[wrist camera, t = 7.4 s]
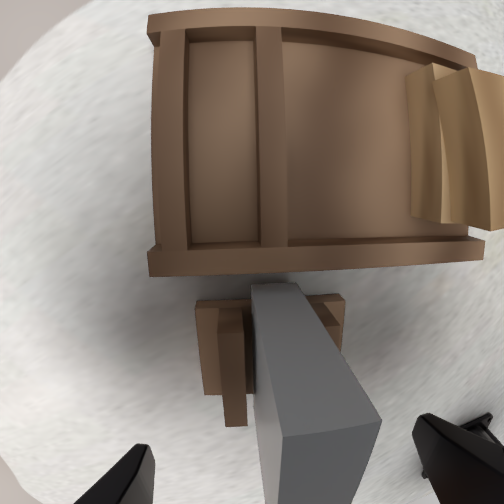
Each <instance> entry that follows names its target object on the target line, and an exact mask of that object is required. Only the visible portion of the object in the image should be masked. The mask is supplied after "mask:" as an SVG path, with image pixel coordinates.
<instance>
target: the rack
mask: <svg viewBox="0 0 504 504" xmlns="http://www.w3.org/2000/svg"><path fill="white" fill-rule="evenodd" d="M147 35H148V37H149V39H150V40H151V42H152V44H153V46H154V61H153V80H152V111H151V158H152V191H153V211H154V227H155V241H156V245H155V246H154V247H152V248H151V249H150V250H149V251H148V252H147V257H148V267H149V277H170V276H204V275H233V274H259V273H282V272H303V271H323V270H342V269H359V268H376V267H392V266H407V265H422V264H436V263H449V262H462V261H474V260H483V256H484V248H485V241H484V240H481V239H478V238H474V237H471V236H468V227H469V226H468V225H464V224H454V223H437V222H433V221H429V220H425V219H421V218H417V217H412V216H411V142H410V124H409V111H408V100H407V91H406V82H405V76H407V75H409V74H411V73H413V72H415V71H417V70H419V69H421V68H423V67H425V66H427V65H429V64H430V63H435V64H438V65H441V66H444V67H447V68H450V69H453V70H456V71H460V70H462V69H465V68H467V67H470V68H474V69H478V68H477V63H476V58H475V55H473V54H471V53H468V52H466V51H464V50H461V49H459V48H456V47H454V46H451V45H448V44H446V43H443V42H440V41H438V40H435V39H432V38H429V37H426V36H423V35H420V34H416V33H413V32H410V31H406V30H403V29H399V28H396V27H392V26H388V25H384V24H380V23H376V22H371V21H367V20H362V19H357V18H352V17H346V16H340V15H334V14H327V13H320V12H312V11H303V10H292V9H277V8H209V9H194V10H183V11H174V12H166V13H159V14H152V15H149V16H148V25H147Z"/></svg>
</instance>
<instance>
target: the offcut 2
mask: <svg viewBox="0 0 504 504" xmlns="http://www.w3.org/2000/svg"><path fill="white" fill-rule="evenodd" d="M432 84H433V88H434V93H435V97H436V102H437V106H438V111H439V116H440V121H441V127H442V133H443V139H444V145H445V152H446V160H447V168H448V177H449V188H450V202H451V221H452V222H455V223H459V224H464V225H468V226H472V227H476V228H480V229H483V230H487V231H494V230H499V229H503V228H504V76H501V75H498V74H494V73H490V72H486V71H482V70H478V69H474V68H470V67H467V68H465V69H462V70H460V71H457V72H455V73H452V74H450V75H447V76H445V77H442V78H440V79H437V80H435V81H433V82H432Z"/></svg>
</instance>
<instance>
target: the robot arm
mask: <svg viewBox="0 0 504 504" xmlns="http://www.w3.org/2000/svg"><path fill="white" fill-rule="evenodd" d="M492 418H493V415H492V414H487V415H485V416H483V417H481V418H479V419H477V420H475V421H473V422H470V423H468V424H466V425H464V426H461V427H458V426H456V425H454V424H452V423H450V422H447V421H445V420H443V419H441V418H439V417H437V416H435V415H433V414H431V413H426V414H422V415H420V416H419V417H418V418H417V421H416V423H415V426H414V428H413V431H412V437H413V440H414V442H415V445H416V448H417V451H418V454H419V457H420V460H421V462H422V465H423V468H424V472H423V473H422V477H423V479H426V478H428V479H429V481H430V483H431V485H432V487H433V489H434V491H435V493H436V495H437V497H438V500H439V502H440V504H504V446H503V445H502V444H501V443H500V441H499V440H498V439H497V438H496V437H495V436H494V435H493V434H492V433H491V432H490V430H489V429H488V426H489V424H490V422H491V420H492ZM154 475H155V459H154V457H153V454H152V451H151V448H150V446H149V445H147V444H135V445H134V446H133V447H132V448H131V449H130V450H129V451H128V452H127V453H126V454H125V455H124V456H123V457H122V458H121V459H120V460H119V461H118V462H117V463H116V464H115V465H114V466H113V467H112V468H111V469H110V470H109V471H108V472H107V473H106V474H105V475H104V476H102V477H101V478H100V479H99V480H98V481H97V482H96V483H95V484H94V485H93V486H92V487H91V488H90V489H89V490H88V491H87V492H85V493H84V494H83V495H82V496H81V497H80V498H79V499H78V500H77V501H76V502H75V503H74V504H153V491H154Z"/></svg>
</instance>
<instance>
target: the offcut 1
mask: <svg viewBox="0 0 504 504" xmlns="http://www.w3.org/2000/svg"><path fill="white" fill-rule="evenodd" d="M455 72H457V71H456V70H453V69H450V68H447V67H444V66H441V65H438V64H435V63H430V64H429V65H427V66H425V67H423V68H421V69H419V70H417V71H415V72H413V73H411V74H409V75H407V76H405V82H406V91H407V100H408V111H409V124H410V142H411V216H412V217H417V218H421V219H425V220H429V221H433V222H437V223H454V224H459V223H455V222H452V221H451V202H450V188H449V177H448V168H447V160H446V152H445V145H444V139H443V133H442V127H441V121H440V116H439V111H438V106H437V102H436V97H435V93H434V88H433V84H432V82H433V81H435V80H437V79H440V78H442V77H445V76H447V75H450V74H452V73H455Z"/></svg>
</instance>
